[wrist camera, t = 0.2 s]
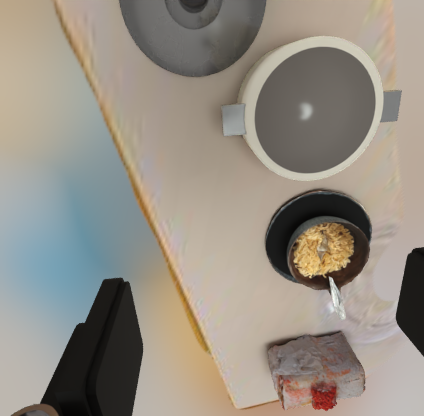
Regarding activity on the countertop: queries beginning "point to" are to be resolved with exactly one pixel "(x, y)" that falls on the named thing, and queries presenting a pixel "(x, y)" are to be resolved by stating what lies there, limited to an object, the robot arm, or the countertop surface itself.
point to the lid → (193, 32)
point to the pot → (310, 107)
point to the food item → (315, 371)
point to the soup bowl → (320, 242)
